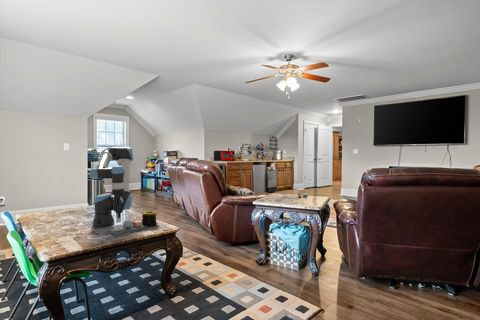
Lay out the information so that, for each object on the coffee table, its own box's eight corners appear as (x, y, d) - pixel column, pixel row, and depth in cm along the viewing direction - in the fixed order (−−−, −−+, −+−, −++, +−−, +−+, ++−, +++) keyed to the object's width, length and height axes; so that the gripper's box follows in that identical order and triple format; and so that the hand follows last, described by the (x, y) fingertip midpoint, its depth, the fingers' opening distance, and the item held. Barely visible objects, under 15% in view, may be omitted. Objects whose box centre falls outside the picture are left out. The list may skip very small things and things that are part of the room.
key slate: (123, 228, 194) (123, 221, 193) (129, 227, 197) (129, 220, 197) (126, 229, 191) (126, 222, 191) (132, 228, 194) (132, 221, 194)
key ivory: (113, 232, 188) (113, 225, 188) (120, 231, 192) (120, 224, 192) (116, 234, 185) (116, 227, 185) (123, 232, 189) (123, 225, 189)
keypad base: (108, 232, 189) (108, 229, 189) (138, 226, 206) (138, 223, 206) (116, 236, 182) (116, 233, 182) (146, 229, 199) (146, 226, 199)
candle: (141, 227, 203) (141, 214, 202) (142, 223, 213) (142, 211, 212) (156, 226, 206) (155, 213, 205) (156, 223, 215) (156, 210, 215)
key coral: (132, 228, 199) (132, 221, 199) (138, 227, 203) (138, 220, 202) (136, 229, 196) (136, 222, 196) (141, 228, 200) (141, 221, 199)
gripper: (108, 188, 189) (108, 221, 190) (117, 190, 180) (117, 225, 182) (118, 186, 195) (119, 219, 196) (127, 188, 186) (128, 223, 188)
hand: (118, 222), depth 189 cm, fingers closed
